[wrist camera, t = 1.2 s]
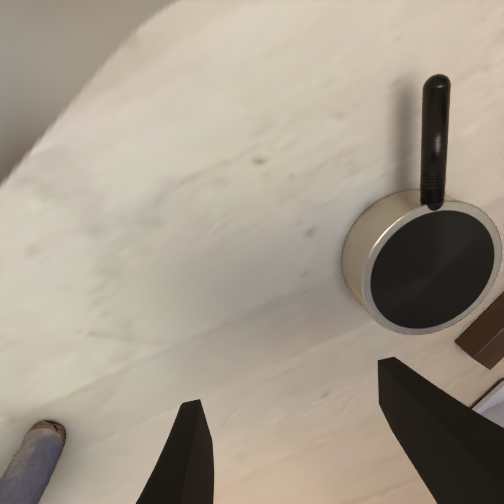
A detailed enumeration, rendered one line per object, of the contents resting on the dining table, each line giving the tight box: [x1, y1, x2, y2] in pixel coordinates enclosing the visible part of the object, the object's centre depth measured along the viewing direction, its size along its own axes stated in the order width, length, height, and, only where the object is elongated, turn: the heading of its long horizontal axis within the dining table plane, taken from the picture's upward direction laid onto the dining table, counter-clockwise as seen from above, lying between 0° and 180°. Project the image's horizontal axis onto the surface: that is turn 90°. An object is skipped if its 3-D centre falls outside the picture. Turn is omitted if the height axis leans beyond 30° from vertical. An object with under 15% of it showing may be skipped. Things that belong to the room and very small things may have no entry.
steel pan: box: [342, 74, 502, 335], centre depth 18 cm, size 14×8×3 cm, turn 10°
